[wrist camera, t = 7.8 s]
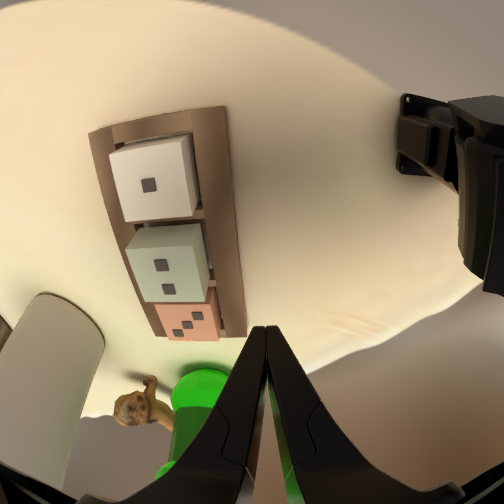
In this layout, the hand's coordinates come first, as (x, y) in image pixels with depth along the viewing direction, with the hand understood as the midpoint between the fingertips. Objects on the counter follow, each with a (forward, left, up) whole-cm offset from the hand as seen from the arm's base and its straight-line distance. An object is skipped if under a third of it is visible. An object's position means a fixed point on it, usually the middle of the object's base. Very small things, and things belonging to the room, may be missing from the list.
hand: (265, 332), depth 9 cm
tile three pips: (+7, +11, -13) cm, 18 cm away
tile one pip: (+7, -2, -13) cm, 15 cm away
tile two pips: (+7, +4, -11) cm, 14 cm away
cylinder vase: (+27, +16, -13) cm, 34 cm away
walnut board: (+7, +4, -13) cm, 15 cm away
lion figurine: (+17, +31, -13) cm, 37 cm away
